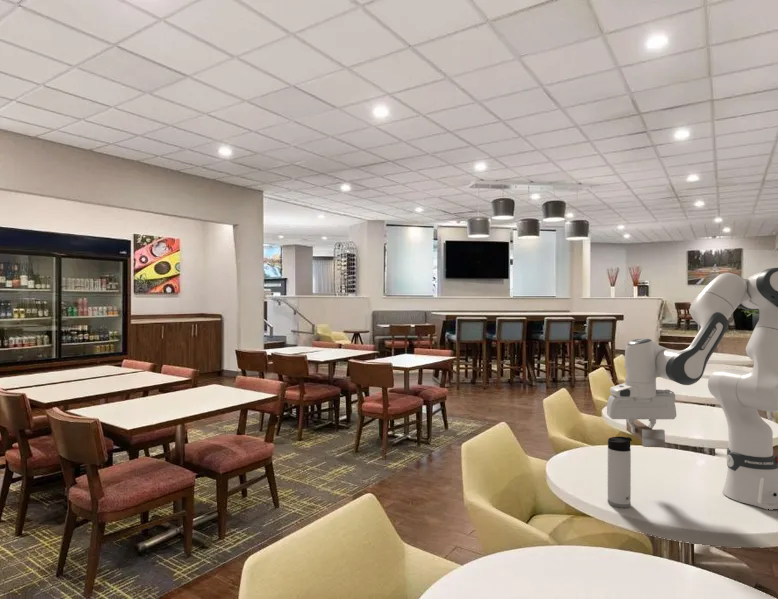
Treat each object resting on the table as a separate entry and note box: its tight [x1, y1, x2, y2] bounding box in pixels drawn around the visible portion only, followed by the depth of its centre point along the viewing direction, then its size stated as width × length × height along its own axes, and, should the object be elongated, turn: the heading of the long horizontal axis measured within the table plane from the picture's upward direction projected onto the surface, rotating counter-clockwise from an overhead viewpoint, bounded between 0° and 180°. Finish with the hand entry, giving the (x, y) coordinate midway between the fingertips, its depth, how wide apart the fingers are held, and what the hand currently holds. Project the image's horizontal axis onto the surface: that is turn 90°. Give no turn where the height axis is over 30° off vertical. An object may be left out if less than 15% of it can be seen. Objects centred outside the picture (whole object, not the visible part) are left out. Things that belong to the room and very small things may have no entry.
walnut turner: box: [625, 419, 666, 448], centre depth 156 cm, size 6×19×5 cm, turn 173°
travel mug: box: [607, 436, 633, 509], centre depth 147 cm, size 6×7×20 cm
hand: (641, 432), depth 157 cm, fingers closed on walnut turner, 3 cm apart
